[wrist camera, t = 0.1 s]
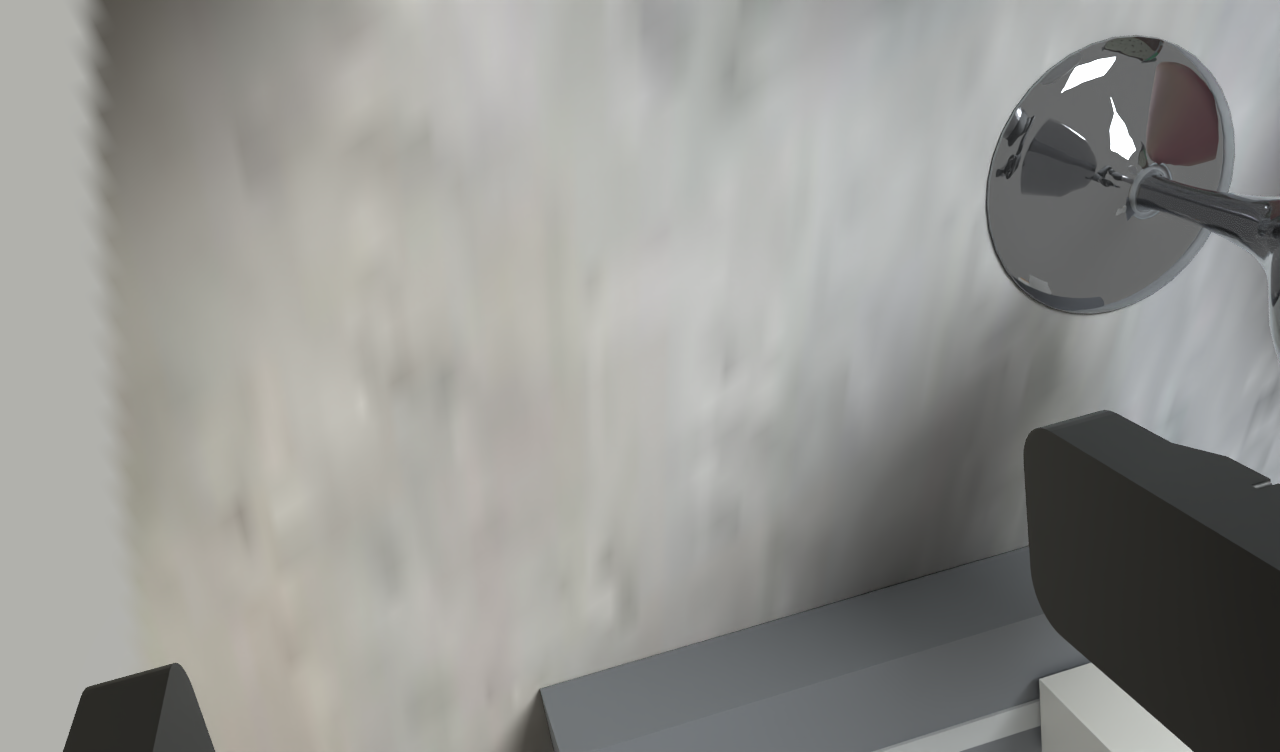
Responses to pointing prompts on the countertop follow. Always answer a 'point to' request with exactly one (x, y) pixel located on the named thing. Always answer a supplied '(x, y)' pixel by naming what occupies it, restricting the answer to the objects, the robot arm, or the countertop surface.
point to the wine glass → (1122, 180)
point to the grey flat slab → (840, 677)
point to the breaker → (1097, 716)
